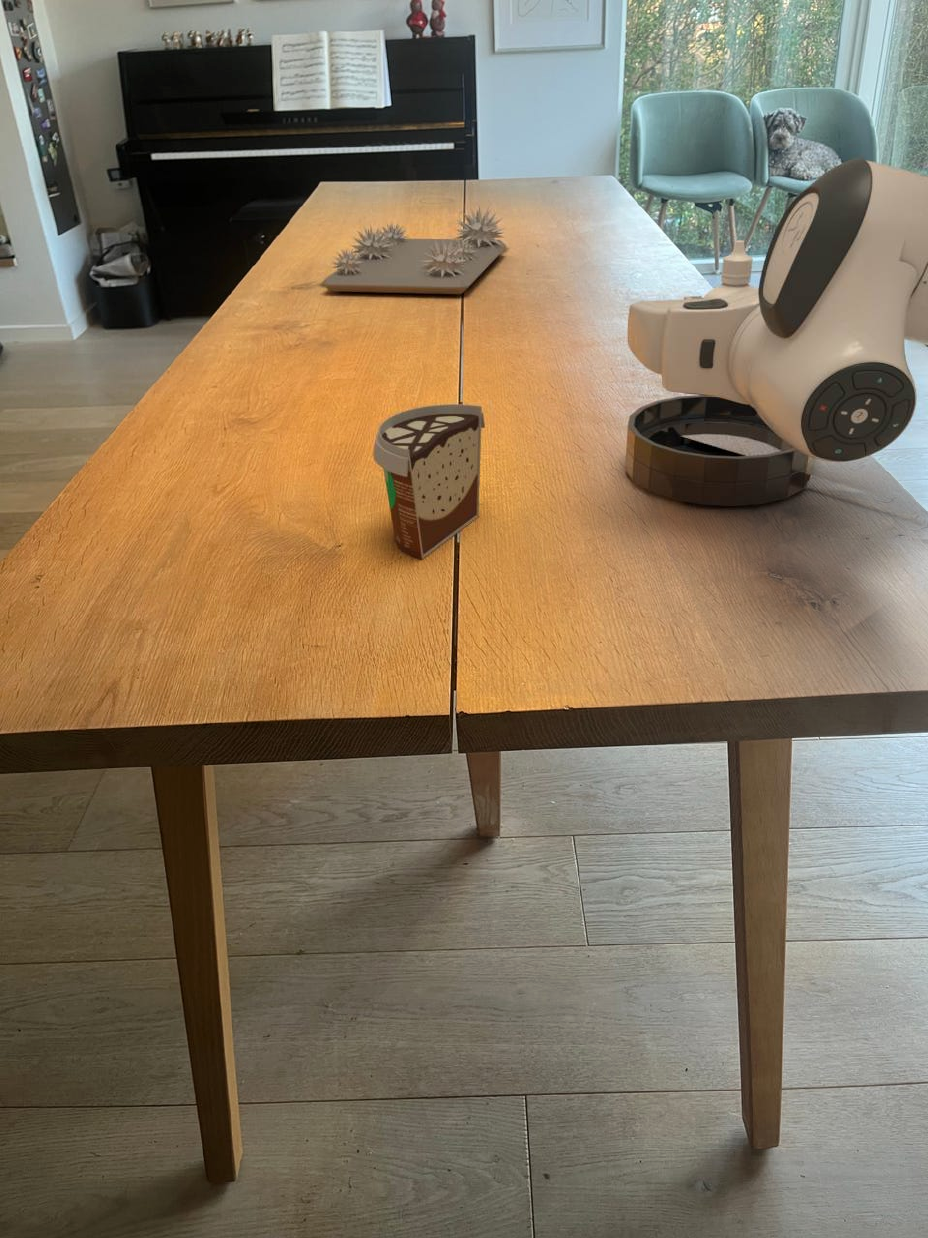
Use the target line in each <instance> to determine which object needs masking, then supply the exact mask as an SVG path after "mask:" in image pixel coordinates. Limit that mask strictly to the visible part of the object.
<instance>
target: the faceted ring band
mask: <svg viewBox="0 0 928 1238" xmlns="http://www.w3.org/2000/svg"><path fill="white" fill-rule="evenodd" d="M626 431H627V433H626V450H625V451H626V452H625V466H624V468H625V469H624V470H625V471H626V473H627V474H628V476H629V477H630V479H631V481H632V482H634V483H636V484H637V485H639V486H640V487H642V488H644V489H645V490H647V491H649V492H651V493H654V494H656V495H659V496H663V497H665V498H669V499H671V500H676V501H681V502H686V503H691V504H692V503H693V504H697V505H704V506H719V507H720V506H721V507H723V506H724V507H739V506H753V505H763V504H764V505H765V504H768V503H773V502H777V501H780V500H785V499H787V498H789V497H791V496H793V495H795V494H797V493H798V492H799V493H800V491H802V490H805V489H804V488H805V487H806V486H807V484H808V482H809V481H810V479H811V478H812V477H811V476H812V475H811V474H810V472H811V471H812V470H813V463H814V458H812V457H810V456H808V455H806V454H804V453H802V452H800V451H799V450H797V449H795V448H794V447H792V446H791V445H789V444H788V443H787V442H785V441H784V440H783V439H782V438H781V437H779V436H778V435H777V434H776V433H775V432H774V431H773V430H772V429H771V428H770V427H769V426H768V425H767V424H766V423H765V422H764V421H763V420H762V419H761V417H760V416H759V415H758V413H757V411H756V410H755V408H753V407H752V406H750V405H747V404H742V403H738V402H734V401H731V400H728V399H724V398H720V397H715V396H705V395H696V394H693V395H680V396H674V397H669V398H665V399H660V400H655V401H653V402H650V403H648V404H645V405H642V406H640V407H638V408H637V409H636V410H635V411H634V412H632V414H630V415H629V416H628V422H627V430H626ZM695 435H719V436H722V435H724V436H731V437H732V436H733V437H739V438H746V439H750V440H753V441H757V442H759V443H760V442H761V443H765V444H767V445H769V446H772V447H773V448H775V449H778V450H779V451H775V452H771V453H767V454H753V455H745V454H743V453H738V452H735V451H732V450H729V449H726V448H722V447H718V446H715V445H712V444H709V443H705V442H702V441H698V440H695V439H692V438H689V437H684V436H695Z"/></svg>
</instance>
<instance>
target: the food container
mask: <svg viewBox="0 0 928 1238" xmlns="http://www.w3.org/2000/svg"><path fill="white" fill-rule="evenodd" d="M482 409H483V407H482V406H481V405H475V404H460V403H457V404H456V403H450V404H449V403H448V404H447V403H446V404H445V403H444V404H435V405H434V404H433V405H426V406H420V407H414V408H411V409H407V410H404V411H401V412H397V413H396V414H393V415H391V416H389V417H388V418H386V419H384V420H383V421H382V422H381V423H380V425H379V427H378V431H377V433H376V434H375V440H374V447H373V455H372V456H373V460H374V461H375V463H376V464H377V465H378V466H379V467H381V468H382V470H383V474H384V475H383V476H384V482H385V487H386V493H387V499H388V505H389V511H390V517H391V523H392V531H393V535H394V541H395V544H396V547H398V549H399V550H400V551H401V552H403V553H404V554H407V555H408V556H410V557H413V558H415V559H419V560H424V559H425V558H427V557H428V556H429V555H430V554H432V553H433V552H434V551H436V550H437V549H438V548H440V547H441V546H442V545H444V544H445V543H446V542H448V541H449V540H450V539H451V538H453V537H455V535H457V534H458V533H460V532H461V531H462V530H464V529H465V528H466V527H467V526H469V525H470V524H471V523H473V522H474V521H475V520H477V519H478V518H479V517H480V488H481V487H480V484H481V483H480V482H481V455H482V453H481V451H482V429H485V428H486V423H485V417H484V412H483V410H482Z"/></svg>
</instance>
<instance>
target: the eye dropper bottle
mask: <svg viewBox="0 0 928 1238" xmlns="http://www.w3.org/2000/svg"><path fill="white" fill-rule="evenodd" d="M745 247H746V245H745V240H743V239H742V240H741V239H737V240H735V242H734V246H733V249H732V252H731V253H729V254H728V255H727V256H724V258H723V259H722V268H721V269H722V270H721V277H720V282H721V284H720V285H717V286H716V287H714V288H712V289H711V290H709V291H708V292H707V293H706V294H705V295H704V296H703V298H704V299H706V298H725V297H729V296H732V295H736V294H739V293H743V292H748V291H754V290H756V289H758V288H759V287H757V286H754V285H751V284H750V283H751V277H752V268H753V261H754V260H753V257H752V256H749V255H748V254H747V252H746V248H745Z"/></svg>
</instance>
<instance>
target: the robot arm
mask: <svg viewBox="0 0 928 1238" xmlns="http://www.w3.org/2000/svg"><path fill="white" fill-rule="evenodd" d="M757 288H758V289H756V290H754V291H748V292H743V293H739V294H736V295H732V296H729V297H725V298H706V299H704V297H702V296H701V295H696V296H692V295H691V296H684V297H683V298H682V299H661V300H660V299H659V300H638V301H635V302H633V303H631V304H630V306H629V308H628V315H627V316H628V317H627V345H628V348H629V350H630V351H631V353H632V354H633V355H634V357H635V358H636V359H637V360H638V361H639V363H641V364H642V366H643V367H644V368H646V369H648V370H649V371H651V372H653V373H655V374H658V375H660V376H661V385H662V388H663V389H665V390H666V391H668V392H671V393H676V394H677V393H678V394H685V395H686V394H687V395H705V396H715V397H720V398H724V399H728V400H731V401H734V402H738V403H742V404H747V405H750V406H752V407H753V408H755V410H756V411H757V413H758V415H759V416H760V417H761V419H762V420H763V421H764V422H765V423H766V424H767V425H768V426H769V427H770V428H771V429H772V430H773V431H774V432H775V433H776V434H777V435H778V436H779V437H781V438H782V439H783V440H784V441H785V442H787V443H788V444H789V445H791V446H792V447H794V448H795V449H797V450H799V451H800V452H802V453H804V454H806V455H808V456H810V457H812V458H813V459H815V460H819V461H822V462H823V461H824V462H831V463H846V462H851V461H857V460H861V459H864V458H867V457H869V456H872V455H873V454H876V453H878V452H880V451H882V450H884V449H885V448H887V447H888V446H890V445H891V444H892V443H893V442H895V441H896V440H897V439H898V438H899V437H900V436H901V435H902V434H903V433H904V431H905V430H906V429H907V427H908V425H910V422H911V421H912V418H913V416H914V414H915V410H916V406H917V401H918V400H917V398H918V397H917V395H918V393H917V388H916V384H915V381H914V380H915V379H914V378H913V375H912V373H911V370H910V368H909V365H908V361H907V357H906V348H905V345H906V344H905V341H910V342H912V343H917V344H921V345H924V346H925V347H927V348H928V176H925V174H920V173H919V174H918V173H916V172H913V171H910V170H906V169H902V168H899V167H894V166H891V165H887V164H883V163H880V162H875V161H871V160H866V159H864V158H862V157H855V158H852V159H849V160H847V161H844V162H841V163H839V164H838V165H836V166H835V167H833V168H831V169H830V170H828V171H827V172H825V173H823V174H822V175H821V176H820V177H818V178H817V179H816V180H814V181H813V182H812V183H810V185H808V186H807V187H806V188H805V189H804V190H803V191H802V192H800V193H799V195H797V196H796V197H795V198H794V199H793V201H792V202H791V203H790V204H789V206H788V207H787V209H786V210H785V212H784V213H783V215H782V217H781V219H780V221H779V223H778V224H777V227H776V229H775V231H774V234H773V235H772V238H771V241H770V243H769V245H768V248H767V252H766V254H765V257H764V261H763V265H762V269H761V273H760V278H759V284H758V287H757Z"/></svg>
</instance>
